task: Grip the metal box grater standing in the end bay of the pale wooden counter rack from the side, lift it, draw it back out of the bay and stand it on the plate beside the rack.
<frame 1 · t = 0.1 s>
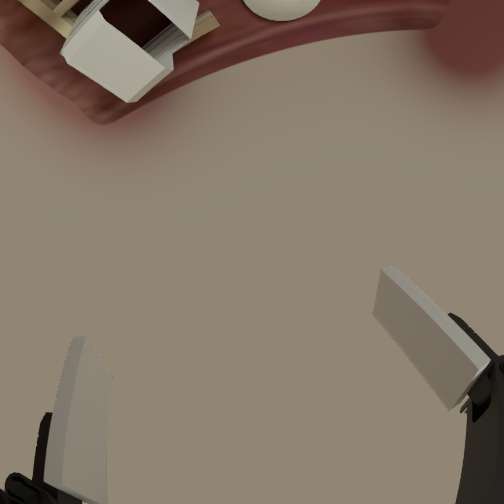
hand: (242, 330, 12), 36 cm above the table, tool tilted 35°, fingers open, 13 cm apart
grater: (138, 4, 22), on the table
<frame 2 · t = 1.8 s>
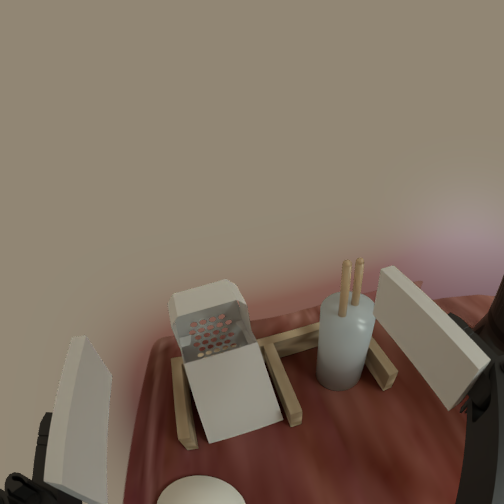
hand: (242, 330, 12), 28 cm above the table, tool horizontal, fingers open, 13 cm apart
grater: (235, 403, 37), on the table
utensil crock: (338, 372, 39), on the table
rack: (282, 390, 38), on the table
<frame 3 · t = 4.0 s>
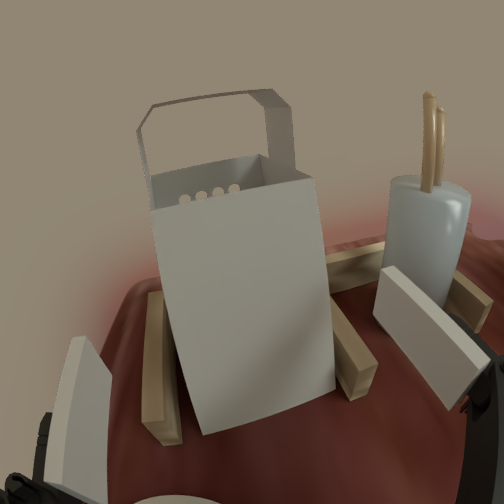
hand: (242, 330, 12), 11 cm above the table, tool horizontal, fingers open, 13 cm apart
grater: (249, 366, 23), on the table
utensil crock: (405, 314, 25), on the table
rack: (327, 343, 24), on the table
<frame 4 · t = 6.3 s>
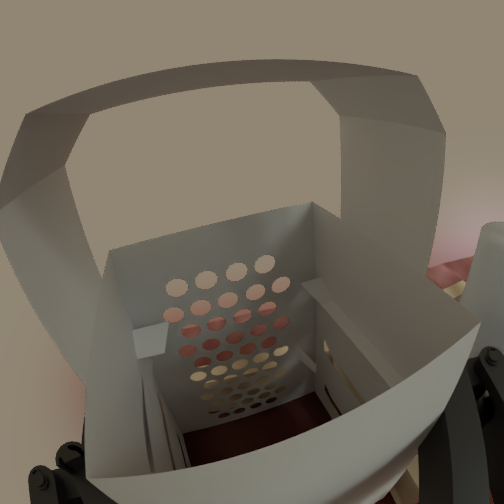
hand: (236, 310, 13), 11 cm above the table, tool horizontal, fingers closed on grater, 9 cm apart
grater: (276, 474, 14), on the table, touching gripper
utensil crock: (459, 386, 17), on the table
rack: (372, 438, 15), on the table
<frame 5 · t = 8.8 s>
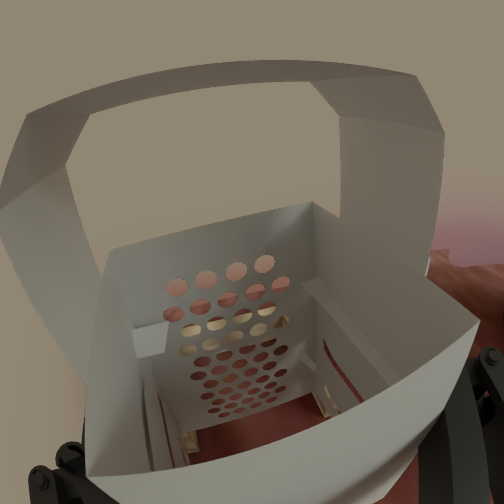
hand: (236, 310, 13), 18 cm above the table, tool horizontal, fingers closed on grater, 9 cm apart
grater: (276, 474, 14), point 7 cm above the table, touching gripper
rack: (308, 371, 29), on the table
when the fingers open (13 cm above the table, at t = 11.2 s): grater drops 1 cm, resting on plate.
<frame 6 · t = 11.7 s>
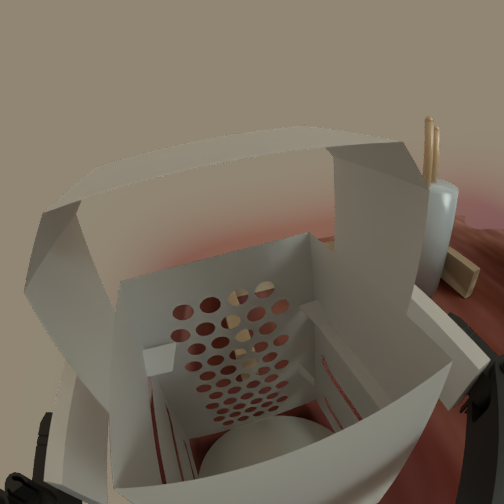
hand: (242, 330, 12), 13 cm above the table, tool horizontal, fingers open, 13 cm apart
grater: (277, 478, 15), resting on plate
utensil crock: (413, 281, 32), on the table
rack: (356, 301, 31), on the table
plate: (276, 480, 15), on the table
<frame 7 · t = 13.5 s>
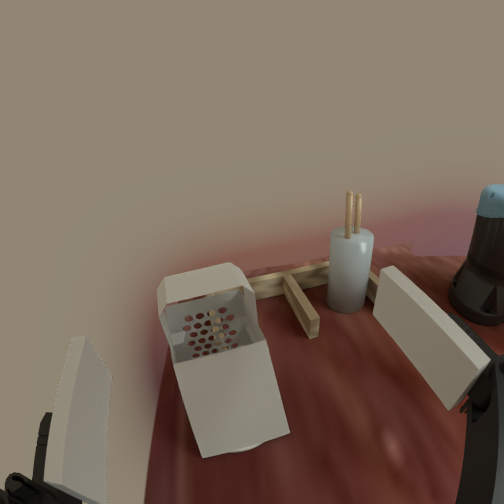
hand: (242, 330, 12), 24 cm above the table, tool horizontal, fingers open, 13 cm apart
grater: (234, 413, 31), resting on plate
utensil crock: (345, 300, 49), on the table
rack: (299, 313, 48), on the table
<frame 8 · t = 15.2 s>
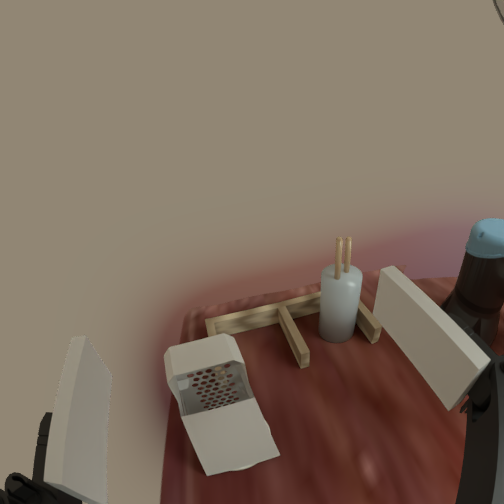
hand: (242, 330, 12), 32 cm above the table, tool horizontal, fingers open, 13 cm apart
grater: (233, 437, 35), resting on plate
utensil crock: (336, 329, 52), on the table
rack: (292, 343, 51), on the table
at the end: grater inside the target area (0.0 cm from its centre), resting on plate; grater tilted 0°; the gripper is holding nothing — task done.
